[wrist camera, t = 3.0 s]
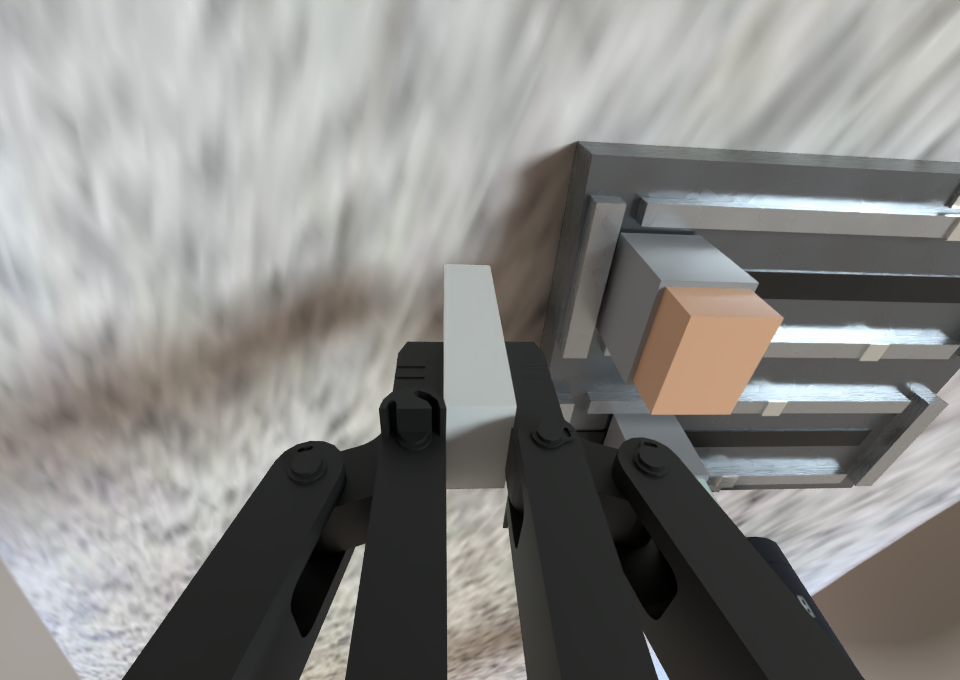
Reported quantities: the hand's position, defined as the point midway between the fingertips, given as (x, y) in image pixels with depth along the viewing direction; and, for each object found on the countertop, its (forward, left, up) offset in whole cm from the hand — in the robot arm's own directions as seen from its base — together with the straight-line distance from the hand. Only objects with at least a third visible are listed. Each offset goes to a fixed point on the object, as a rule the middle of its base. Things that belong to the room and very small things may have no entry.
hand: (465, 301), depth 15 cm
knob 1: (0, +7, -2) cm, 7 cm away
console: (+4, +14, -4) cm, 15 cm away
